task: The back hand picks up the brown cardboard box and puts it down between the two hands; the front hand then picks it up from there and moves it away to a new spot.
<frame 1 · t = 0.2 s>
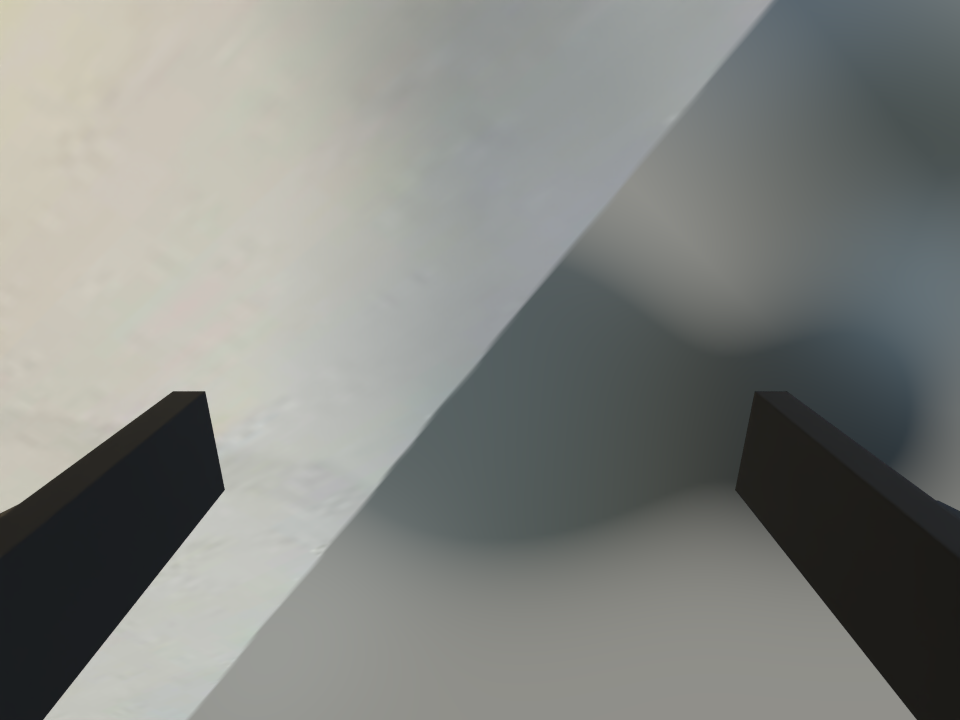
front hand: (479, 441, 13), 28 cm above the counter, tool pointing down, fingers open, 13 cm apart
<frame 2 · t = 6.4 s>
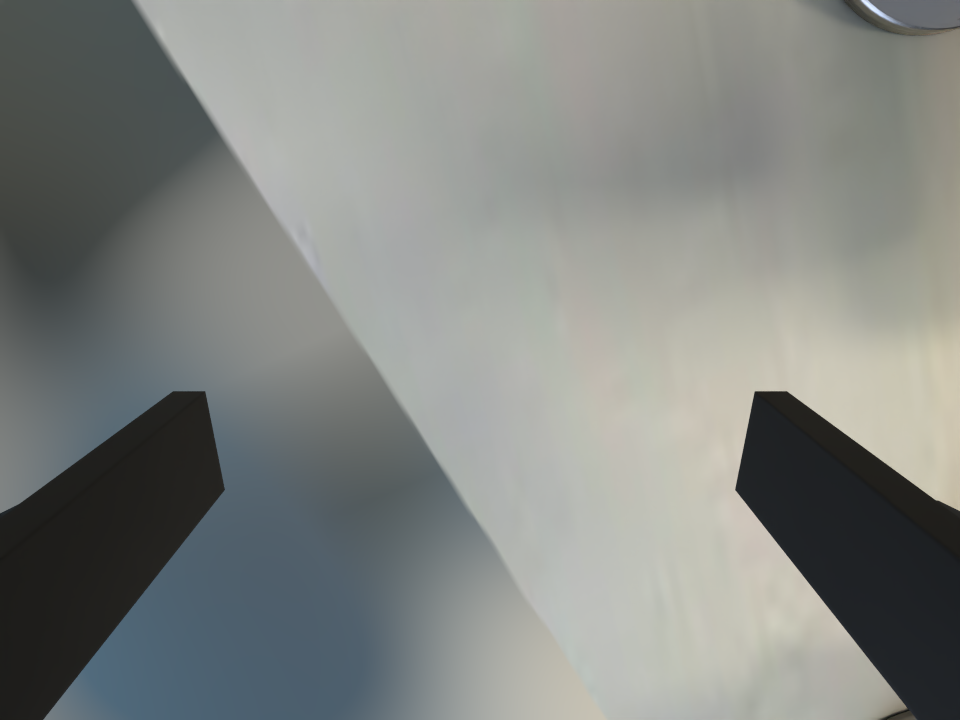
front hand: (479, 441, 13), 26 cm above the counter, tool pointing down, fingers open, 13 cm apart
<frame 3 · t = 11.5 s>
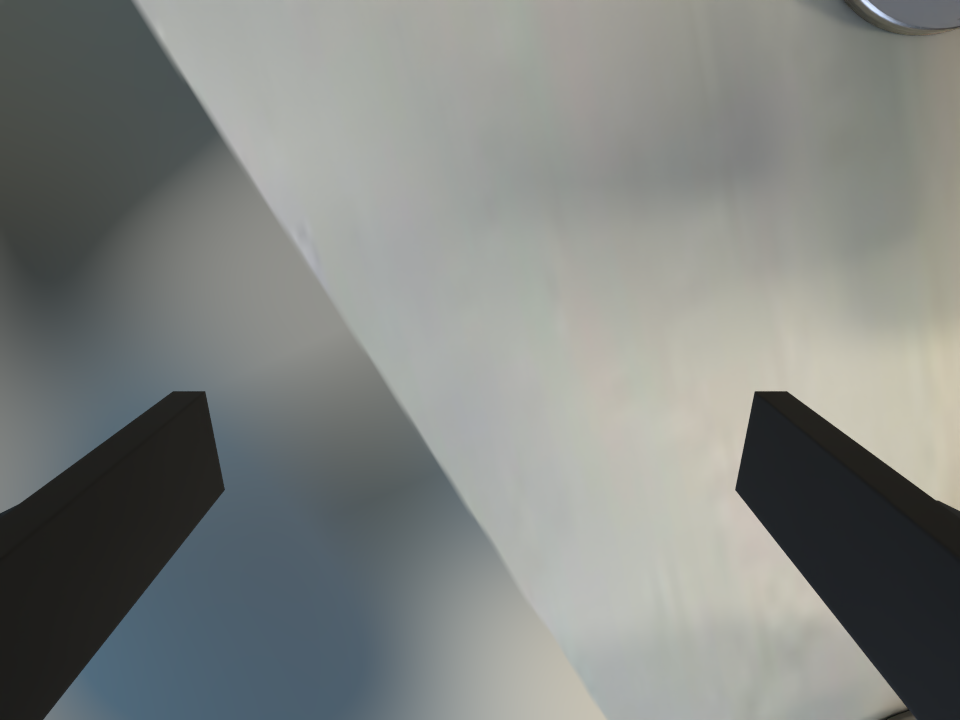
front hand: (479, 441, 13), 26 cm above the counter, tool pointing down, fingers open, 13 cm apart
when the back hand's fingers open (2 cm above the counter, at t = 16.7 s): brown cardboard box drops 1 cm, on the counter.
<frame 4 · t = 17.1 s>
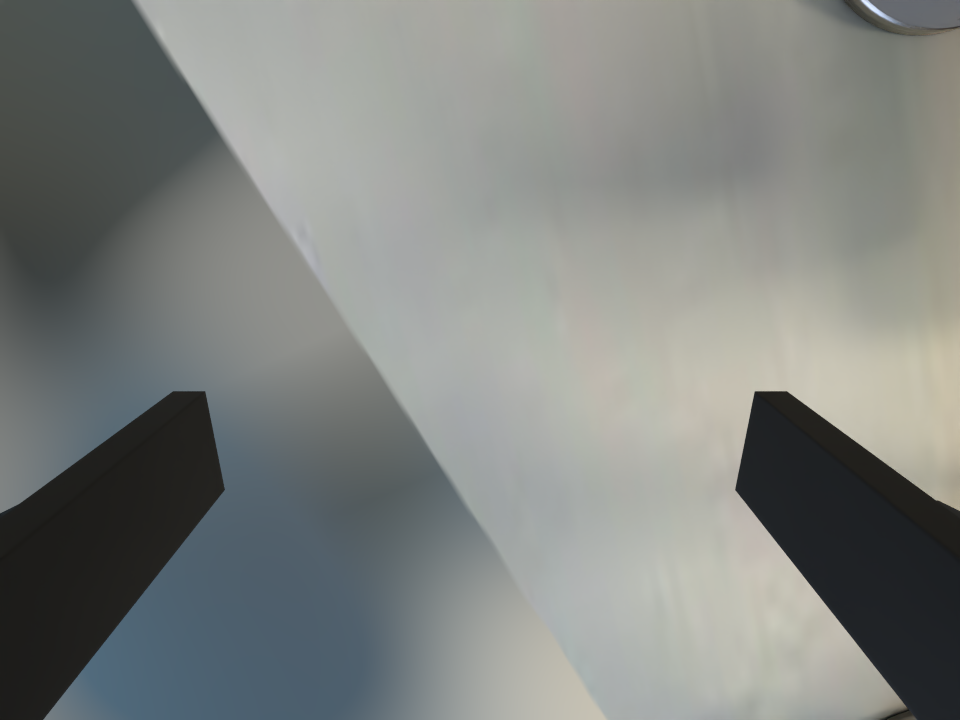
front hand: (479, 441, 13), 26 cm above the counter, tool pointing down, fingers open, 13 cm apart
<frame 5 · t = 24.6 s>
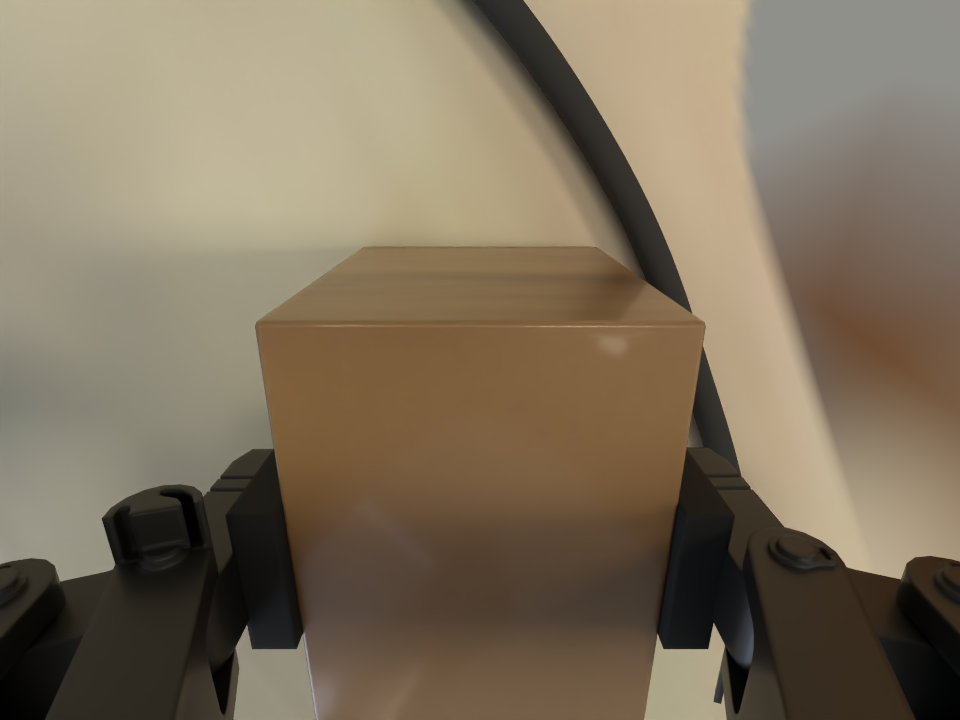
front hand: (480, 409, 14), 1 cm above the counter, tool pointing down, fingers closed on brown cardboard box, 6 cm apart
brown cardboard box: (480, 395, 15), on the counter, touching front hand
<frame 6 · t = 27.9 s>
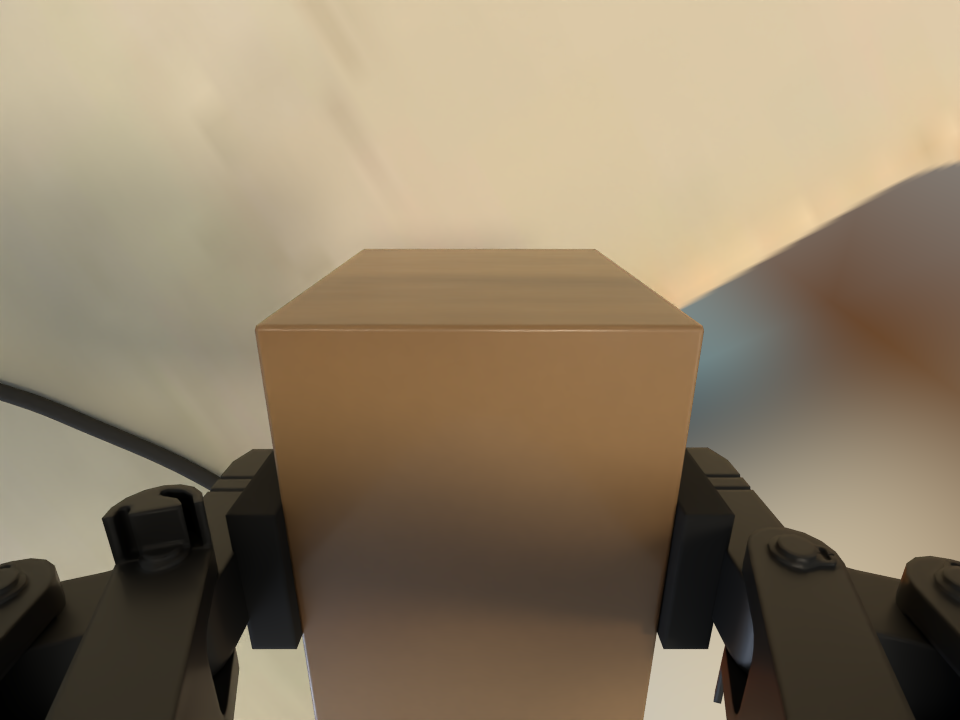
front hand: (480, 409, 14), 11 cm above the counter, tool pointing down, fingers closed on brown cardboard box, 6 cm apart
brown cardboard box: (479, 396, 15), point 10 cm above the counter, touching front hand
when the front hand's fingers open (2 cm above the counter, at t = 31.4 s): brown cardboard box drops 1 cm, on the counter.
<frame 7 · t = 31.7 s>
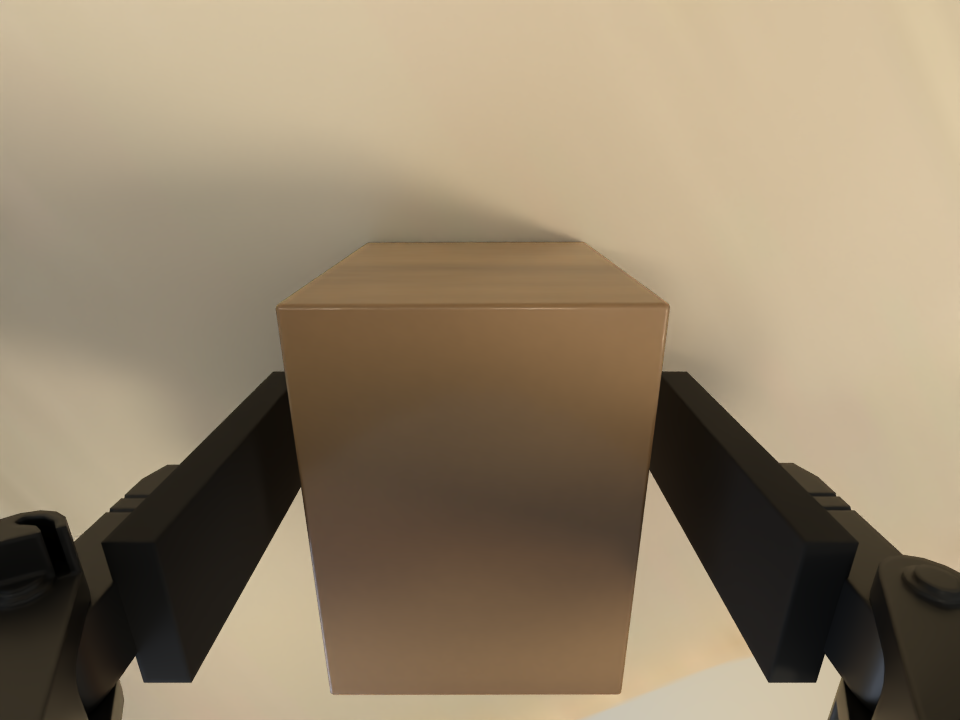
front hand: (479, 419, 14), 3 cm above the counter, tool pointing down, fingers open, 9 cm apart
brown cardboard box: (476, 381, 16), on the counter
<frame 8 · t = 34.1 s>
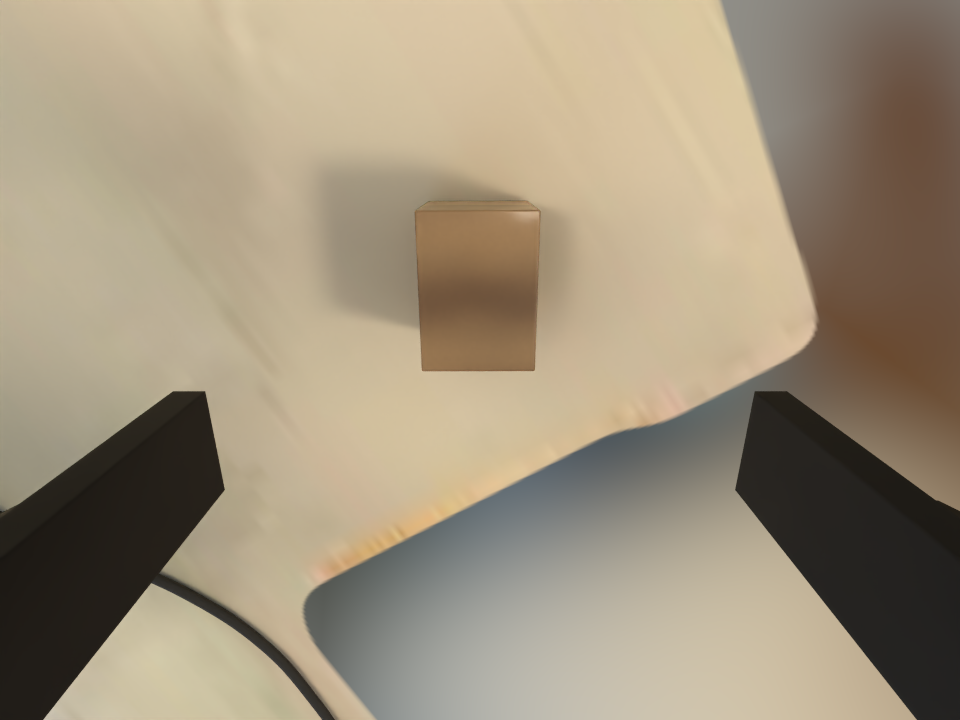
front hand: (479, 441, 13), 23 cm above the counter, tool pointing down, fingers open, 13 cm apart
brown cardboard box: (478, 269, 34), on the counter
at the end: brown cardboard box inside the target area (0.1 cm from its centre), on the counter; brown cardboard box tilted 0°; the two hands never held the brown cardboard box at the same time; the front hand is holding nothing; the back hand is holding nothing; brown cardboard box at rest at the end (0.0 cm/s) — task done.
